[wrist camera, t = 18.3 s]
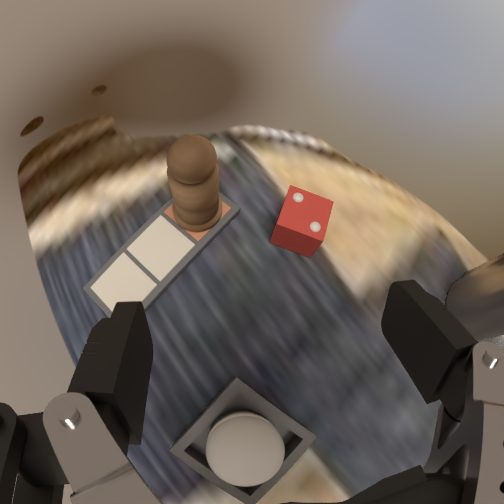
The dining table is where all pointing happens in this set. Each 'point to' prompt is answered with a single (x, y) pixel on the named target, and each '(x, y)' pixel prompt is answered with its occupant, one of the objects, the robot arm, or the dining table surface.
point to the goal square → (198, 235)
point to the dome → (244, 448)
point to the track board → (150, 260)
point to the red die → (302, 222)
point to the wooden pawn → (194, 183)
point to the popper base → (235, 398)
